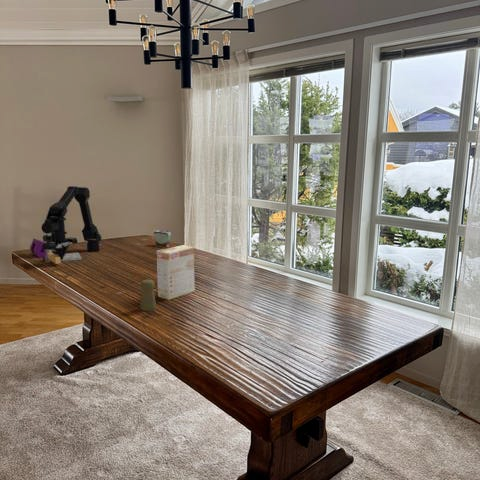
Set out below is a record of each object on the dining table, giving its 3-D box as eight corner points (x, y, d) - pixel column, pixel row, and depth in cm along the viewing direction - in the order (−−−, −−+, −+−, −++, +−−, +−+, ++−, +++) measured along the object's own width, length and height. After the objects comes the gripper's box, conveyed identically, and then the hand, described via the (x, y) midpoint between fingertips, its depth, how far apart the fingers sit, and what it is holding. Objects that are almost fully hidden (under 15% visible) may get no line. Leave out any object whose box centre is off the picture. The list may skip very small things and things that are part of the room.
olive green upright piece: (157, 305, 169) (156, 278, 167) (155, 310, 163) (154, 282, 161) (141, 305, 169) (140, 278, 167) (138, 310, 163) (137, 282, 161)
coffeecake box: (183, 288, 191) (183, 244, 187) (195, 291, 187) (194, 246, 183) (157, 296, 180) (155, 250, 176) (168, 300, 175) (167, 252, 172)
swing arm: (61, 263, 226) (60, 254, 225) (55, 264, 225) (54, 255, 224) (51, 257, 239) (50, 248, 238) (45, 258, 237) (45, 249, 236)
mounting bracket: (58, 261, 260) (27, 252, 248) (63, 248, 261) (33, 238, 249) (63, 264, 253) (32, 255, 241) (69, 250, 254) (38, 240, 242)
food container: (175, 246, 276) (174, 231, 274) (168, 248, 271) (168, 232, 269) (160, 244, 282) (160, 229, 280) (153, 246, 277) (153, 230, 275)
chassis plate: (78, 254, 253) (78, 251, 253) (81, 259, 240) (81, 257, 240) (44, 257, 245) (44, 254, 245) (45, 262, 233) (45, 260, 232)
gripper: (61, 226, 237) (64, 254, 241) (32, 231, 221) (35, 261, 224) (77, 227, 233) (79, 256, 236) (48, 233, 216) (51, 264, 219)
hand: (61, 259), depth 229 cm, fingers closed
